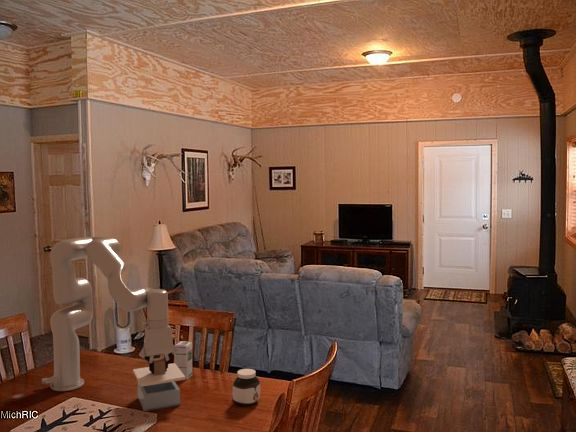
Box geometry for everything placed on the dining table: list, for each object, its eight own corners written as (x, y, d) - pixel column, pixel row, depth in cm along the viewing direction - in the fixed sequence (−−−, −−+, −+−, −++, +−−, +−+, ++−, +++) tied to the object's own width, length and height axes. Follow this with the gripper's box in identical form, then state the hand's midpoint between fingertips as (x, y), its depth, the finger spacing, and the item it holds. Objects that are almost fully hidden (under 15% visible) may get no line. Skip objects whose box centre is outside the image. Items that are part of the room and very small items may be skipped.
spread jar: (243, 409, 191) (243, 378, 190) (223, 400, 199) (223, 370, 198) (266, 399, 200) (267, 369, 199) (246, 391, 207) (246, 362, 207)
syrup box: (187, 379, 219) (187, 345, 218) (174, 378, 220) (174, 344, 219) (193, 374, 225) (192, 341, 224) (180, 373, 226) (179, 340, 225)
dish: (144, 411, 188) (143, 395, 188) (137, 398, 200) (137, 382, 200) (180, 405, 194) (180, 389, 194) (171, 392, 206) (171, 377, 205)
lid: (140, 386, 186) (140, 370, 185) (133, 371, 200) (132, 356, 200) (185, 379, 192) (185, 363, 192) (174, 365, 207) (174, 350, 206)
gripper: (136, 328, 188) (137, 378, 189) (182, 323, 195) (183, 371, 196) (133, 323, 195) (133, 371, 196) (177, 318, 202) (178, 365, 203)
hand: (158, 371), depth 196 cm, fingers closed on lid, 4 cm apart
